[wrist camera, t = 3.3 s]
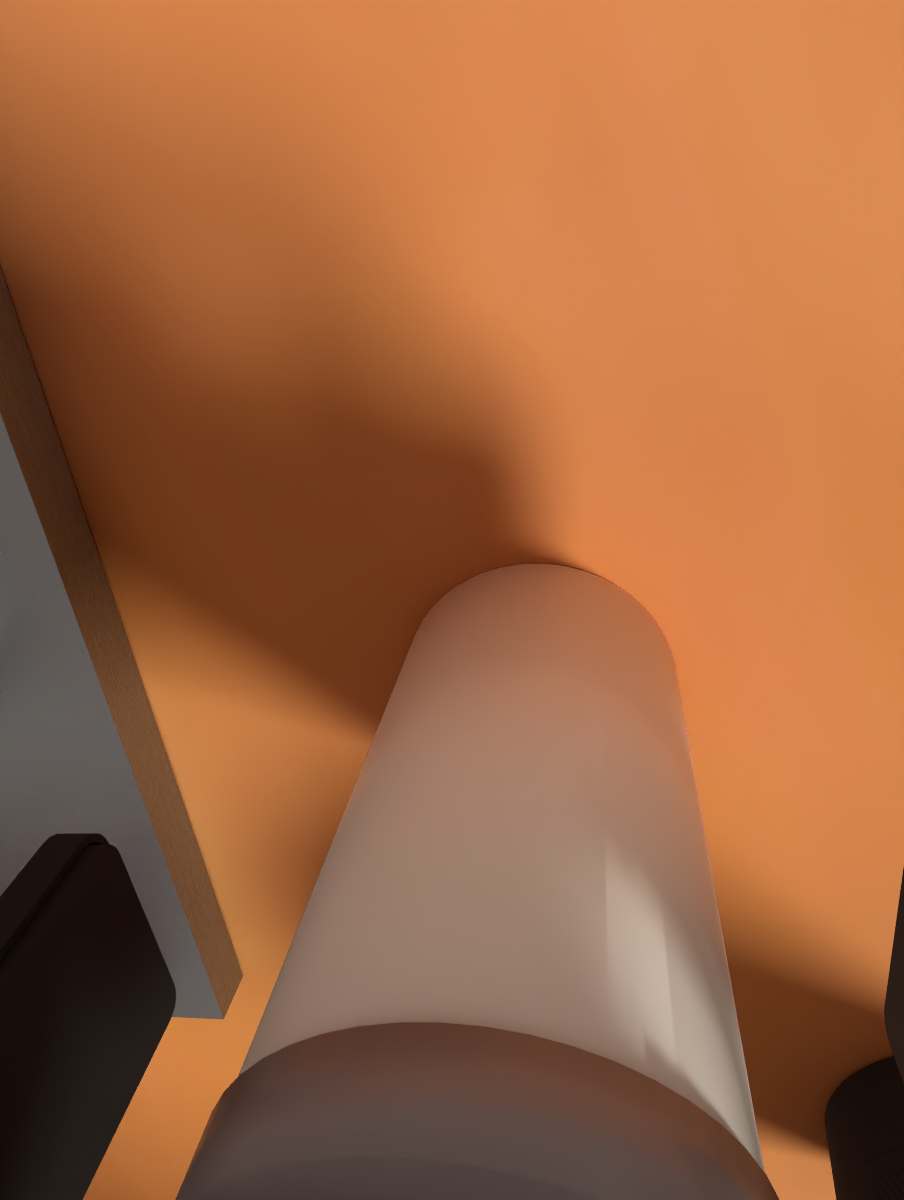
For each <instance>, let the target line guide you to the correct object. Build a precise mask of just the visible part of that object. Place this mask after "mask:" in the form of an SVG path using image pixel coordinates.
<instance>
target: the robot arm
mask: <svg viewBox="0 0 904 1200" xmlns="http://www.w3.org/2000/svg"><path fill="white" fill-rule="evenodd" d="M175 1004H176V988H175V984H174V982H173V979H172V977H171V975H170V972H169V970H168V967H167V965H166V963H165V960H164V958H163V955H162V953H161V951H160V948H159V946H158V943H157V941H156V939H155V936H154V934H153V931H152V929H151V927H150V924H149V922H148V920H147V917H146V915H145V912H144V910H143V908H142V905H141V903H140V900H139V898H138V896H137V893H136V891H135V888H134V886H133V884H132V881H131V879H130V876H129V874H128V872H127V869H126V867H125V864H124V862H123V860H122V857H121V855H120V853H119V851H118V849H117V848H116V847H115V846H113V845H110V844H109V842H108V841H107V839H106V838H105V837H104V836H103V835H101V834H96V833H69V834H55V835H53V836H50V837H49V838H48V839H47V840H46V841H45V842H44V843H43V844H42V845H41V847H40V848H39V849H38V850H37V851H36V853H35V854H34V855H33V856H32V858H31V859H30V860H29V861H28V863H27V864H26V865H25V866H24V868H23V869H22V870H21V871H20V873H19V874H18V875H17V876H16V878H15V879H14V880H13V881H12V882H11V884H10V885H9V886H8V887H7V889H6V890H5V891H4V892H3V894H2V895H1V896H0V1200H83V1198H84V1196H85V1193H86V1191H87V1189H88V1187H89V1185H90V1183H91V1181H92V1179H93V1177H94V1175H95V1173H96V1171H97V1169H98V1167H99V1165H100V1163H101V1161H102V1159H103V1157H104V1155H105V1153H106V1150H107V1148H108V1146H109V1144H110V1142H111V1140H112V1138H113V1136H114V1134H115V1132H116V1130H117V1128H118V1126H119V1124H120V1122H121V1120H122V1118H123V1116H124V1114H125V1112H126V1110H127V1108H128V1105H129V1103H130V1101H131V1099H132V1097H133V1095H134V1093H135V1091H136V1089H137V1087H138V1085H139V1083H140V1081H141V1079H142V1077H143V1075H144V1073H145V1071H146V1069H147V1067H148V1065H149V1062H150V1060H151V1058H152V1056H153V1054H154V1052H155V1050H156V1048H157V1046H158V1044H159V1042H160V1040H161V1038H162V1036H163V1034H164V1032H165V1030H166V1028H167V1026H168V1024H169V1022H170V1019H171V1017H172V1015H173V1012H174V1008H175ZM884 1014H885V1025H886V1031H887V1035H888V1040H889V1043H890V1046H891V1049H892V1052H893V1055H894V1058H895V1061H896V1063H897V1066H898V1069H899V1072H900V1075H901V1078H902V1080H903V1083H904V869H903V876H902V883H901V891H900V898H899V905H898V913H897V920H896V927H895V934H894V942H893V949H892V956H891V963H890V971H889V978H888V985H887V993H886V1000H885V1010H884Z"/></svg>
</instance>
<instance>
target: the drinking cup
mask: <svg viewBox="0 0 904 1200" xmlns="http://www.w3.org/2000/svg"><path fill="white" fill-rule="evenodd" d="M825 1128H826V1135H827V1141H828V1148H829V1154H830V1161H831V1167H832V1174H833V1180H834V1187H835V1193H836V1200H904V1083H903V1080H902V1078H901V1075H900V1072H899V1069H898V1066H897V1063H896V1061H895V1058H891V1059H888V1060H884V1061H881V1062H879V1063H876V1064H873V1065H871V1066H869V1067H867V1068H865V1069H863V1070H861V1071H859V1072H857V1073H856V1074H854V1075H853V1076H851V1077H850V1078H848V1079H847V1080H846V1081H845V1082H844V1083H843V1084H842V1085H841V1086H840V1087H839V1088H838V1089H837V1090H836V1091H835V1093H834V1094H833V1095H832V1097H831V1099H830V1101H829V1103H828V1106H827V1109H826V1114H825Z"/></svg>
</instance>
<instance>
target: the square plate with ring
mask: <svg viewBox="0 0 904 1200" xmlns="http://www.w3.org/2000/svg"><path fill="white" fill-rule="evenodd" d="M69 833H96V834H101V835H103V836H104V837H105V838H106V839H107V841H108V842H109V844H110V845H113V846H115V847H116V848H117V849H118V851H119V853H120V855H121V857H122V860H123V862H124V864H125V867H126V869H127V872H128V874H129V876H130V879H131V881H132V884H133V886H134V888H135V891H136V893H137V896H138V898H139V900H140V903H141V905H142V908H143V910H144V912H145V915H146V917H147V920H148V922H149V924H150V927H151V929H152V931H153V934H154V936H155V939H156V941H157V943H158V946H159V948H160V951H161V953H162V955H163V958H164V960H165V963H166V965H167V967H168V970H169V972H170V975H171V977H172V979H173V982H174V984H175V988H176V1004H175V1008H174V1012H173V1015H172V1017H187V1018H208V1019H224V1017H225V1015H226V1013H227V1011H228V1008H229V1006H230V1004H231V1002H232V999H233V997H234V995H235V993H236V990H237V988H238V986H239V984H240V981H241V979H242V977H243V974H242V971H241V968H240V966H239V963H238V960H237V957H236V954H235V951H234V948H233V945H232V942H231V939H230V936H229V934H228V931H227V928H226V925H225V922H224V919H223V916H222V913H221V910H220V907H219V904H218V901H217V899H216V896H215V893H214V890H213V887H212V884H211V881H210V878H209V875H208V872H207V869H206V866H205V864H204V861H203V858H202V855H201V852H200V849H199V846H198V843H197V840H196V837H195V834H194V831H193V829H192V826H191V823H190V820H189V817H188V814H187V811H186V808H185V805H184V802H183V799H182V796H181V794H180V791H179V788H178V785H177V782H176V779H175V776H174V773H173V770H172V767H171V764H170V761H169V759H168V756H167V753H166V750H165V747H164V744H163V741H162V738H161V735H160V732H159V729H158V726H157V724H156V721H155V718H154V715H153V712H152V709H151V706H150V703H149V700H148V697H147V694H146V691H145V689H144V686H143V683H142V680H141V677H140V674H139V671H138V668H137V665H136V662H135V659H134V656H133V654H132V651H131V648H130V645H129V642H128V639H127V636H126V633H125V630H124V627H123V624H122V621H121V619H120V616H119V613H118V610H117V607H116V604H115V601H114V598H113V595H112V592H111V589H110V586H109V584H108V581H107V578H106V575H105V572H104V569H103V566H102V563H101V560H100V557H99V554H98V551H97V549H96V546H95V543H94V540H93V537H92V534H91V531H90V528H89V525H88V522H87V519H86V516H85V514H84V511H83V508H82V505H81V502H80V499H79V496H78V493H77V490H76V487H75V484H74V481H73V479H72V476H71V473H70V470H69V467H68V464H67V461H66V458H65V455H64V452H63V449H62V446H61V444H60V441H59V438H58V435H57V432H56V429H55V426H54V423H53V420H52V417H51V414H50V411H49V409H48V406H47V403H46V400H45V397H44V394H43V391H42V388H41V385H40V382H39V379H38V376H37V374H36V371H35V368H34V365H33V362H32V359H31V356H30V353H29V350H28V347H27V344H26V341H25V339H24V336H23V333H22V330H21V327H20V324H19V321H18V318H17V315H16V312H15V309H14V306H13V304H12V301H11V298H10V295H9V292H8V289H7V286H6V283H5V280H4V277H3V274H2V271H1V269H0V896H1V895H2V894H3V892H4V891H5V890H6V889H7V887H8V886H9V885H10V884H11V882H12V881H13V880H14V879H15V878H16V876H17V875H18V874H19V873H20V871H21V870H22V869H23V868H24V866H25V865H26V864H27V863H28V861H29V860H30V859H31V858H32V856H33V855H34V854H35V853H36V851H37V850H38V849H39V848H40V847H41V845H42V844H43V843H44V842H45V841H46V840H47V839H48V838H49V837H50V836H53V835H55V834H69Z"/></svg>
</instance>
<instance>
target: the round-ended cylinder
mask: <svg viewBox="0 0 904 1200" xmlns="http://www.w3.org/2000/svg"><path fill="white" fill-rule="evenodd" d="M176 1200H779V1198H778V1196H777V1194H776V1192H775V1191H774V1189H773V1187H772V1185H771V1183H770V1181H769V1179H768V1177H767V1175H766V1174H765V1172H764V1167H763V1161H762V1155H761V1150H760V1144H759V1138H758V1133H757V1127H756V1121H755V1116H754V1110H753V1104H752V1099H751V1093H750V1087H749V1081H748V1076H747V1070H746V1064H745V1059H744V1053H743V1047H742V1042H741V1036H740V1030H739V1025H738V1019H737V1013H736V1007H735V1002H734V996H733V990H732V985H731V979H730V973H729V968H728V962H727V956H726V951H725V945H724V939H723V933H722V928H721V922H720V916H719V911H718V905H717V899H716V894H715V888H714V882H713V877H712V871H711V865H710V859H709V854H708V848H707V842H706V837H705V831H704V825H703V820H702V814H701V808H700V803H699V797H698V791H697V785H696V780H695V774H694V768H693V763H692V757H691V751H690V746H689V740H688V734H687V729H686V723H685V717H684V711H683V706H682V700H681V694H680V689H679V683H678V677H677V672H676V666H675V662H674V658H673V655H672V651H671V648H670V646H669V644H668V641H667V639H666V637H665V635H664V633H663V632H662V630H661V628H660V627H659V625H658V624H657V622H656V621H655V619H654V618H653V617H652V616H651V615H650V613H649V612H648V611H647V610H646V609H645V608H644V607H643V606H642V605H641V604H640V603H639V602H638V601H637V600H636V599H634V598H633V597H632V596H631V595H630V594H628V593H627V592H625V591H624V590H622V589H621V588H619V587H618V586H617V585H615V584H613V583H611V582H609V581H607V580H605V579H603V578H601V577H599V576H596V575H594V574H591V573H588V572H586V571H583V570H579V569H575V568H571V567H567V566H561V565H553V564H519V565H511V566H505V567H501V568H497V569H493V570H489V571H487V572H484V573H482V574H479V575H477V576H474V577H472V578H470V579H468V580H466V581H465V582H463V583H461V584H459V585H457V586H456V587H455V588H453V589H452V590H451V591H449V592H448V593H447V594H445V595H444V596H443V597H442V598H441V599H440V600H439V601H438V602H437V603H436V604H435V605H434V606H433V607H432V608H431V610H430V611H429V612H428V614H427V615H426V616H425V618H424V619H423V621H422V622H421V624H420V626H419V628H418V630H417V632H416V634H415V636H414V639H413V641H412V644H411V646H410V649H409V651H408V654H407V656H406V659H405V661H404V664H403V666H402V669H401V671H400V674H399V676H398V679H397V681H396V684H395V686H394V689H393V691H392V694H391V696H390V699H389V701H388V704H387V706H386V709H385V711H384V714H383V716H382V719H381V721H380V724H379V726H378V729H377V731H376V734H375V736H374V739H373V741H372V744H371V746H370V749H369V751H368V754H367V756H366V759H365V761H364V764H363V766H362V769H361V771H360V774H359V776H358V779H357V781H356V784H355V786H354V789H353V791H352V794H351V796H350V799H349V801H348V804H347V806H346V809H345V811H344V814H343V816H342V819H341V821H340V824H339V826H338V829H337V831H336V834H335V836H334V839H333V841H332V844H331V846H330V849H329V851H328V854H327V856H326V859H325V861H324V864H323V866H322V869H321V871H320V874H319V876H318V879H317V881H316V884H315V886H314V889H313V891H312V894H311V896H310V899H309V901H308V904H307V906H306V909H305V911H304V914H303V916H302V919H301V921H300V924H299V926H298V929H297V931H296V934H295V936H294V938H293V941H292V943H291V946H290V948H289V951H288V953H287V956H286V958H285V961H284V963H283V966H282V968H281V971H280V973H279V976H278V978H277V981H276V983H275V986H274V988H273V991H272V993H271V996H270V998H269V1001H268V1003H267V1006H266V1008H265V1011H264V1013H263V1016H262V1018H261V1021H260V1023H259V1026H258V1028H257V1031H256V1033H255V1036H254V1038H253V1041H252V1043H251V1046H250V1048H249V1051H248V1053H247V1056H246V1058H245V1061H244V1063H243V1066H242V1068H241V1071H240V1073H239V1076H238V1078H237V1079H236V1080H235V1081H234V1082H233V1083H232V1084H231V1085H230V1086H229V1087H228V1088H227V1089H226V1090H225V1091H224V1093H223V1094H222V1096H221V1098H220V1099H219V1101H218V1103H217V1104H216V1106H215V1108H214V1109H213V1111H212V1113H211V1115H210V1118H209V1120H208V1123H207V1125H206V1127H205V1130H204V1132H203V1135H202V1137H201V1140H200V1142H199V1144H198V1147H197V1149H196V1152H195V1154H194V1157H193V1159H192V1161H191V1164H190V1166H189V1169H188V1171H187V1173H186V1176H185V1178H184V1181H183V1183H182V1186H181V1188H180V1190H179V1193H178V1195H177V1198H176Z"/></svg>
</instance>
